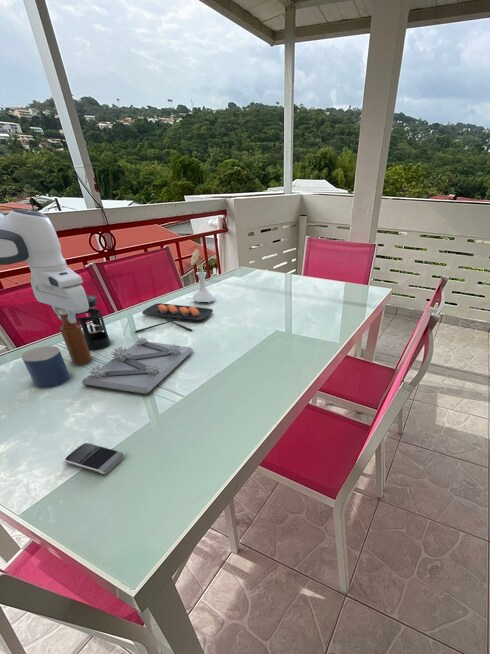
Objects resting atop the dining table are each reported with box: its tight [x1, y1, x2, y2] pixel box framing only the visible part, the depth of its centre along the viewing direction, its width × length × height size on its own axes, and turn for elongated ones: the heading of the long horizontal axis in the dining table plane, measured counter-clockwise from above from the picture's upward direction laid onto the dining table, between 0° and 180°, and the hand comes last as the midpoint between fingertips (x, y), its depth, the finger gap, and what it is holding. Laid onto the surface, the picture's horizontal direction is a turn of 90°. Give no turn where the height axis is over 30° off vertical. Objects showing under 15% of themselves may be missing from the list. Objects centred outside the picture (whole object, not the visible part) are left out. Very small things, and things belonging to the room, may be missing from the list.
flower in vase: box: [190, 248, 217, 304], centre depth 158 cm, size 13×11×25 cm
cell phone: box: [63, 442, 124, 475], centre depth 73 cm, size 6×11×1 cm, turn 73°
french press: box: [75, 279, 112, 351], centre depth 114 cm, size 12×9×23 cm
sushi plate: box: [135, 303, 214, 333], centre depth 141 cm, size 29×30×4 cm
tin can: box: [20, 345, 71, 389], centre depth 97 cm, size 9×9×9 cm
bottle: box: [58, 308, 93, 366], centre depth 105 cm, size 6×6×18 cm
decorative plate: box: [81, 337, 194, 395], centre depth 106 cm, size 30×22×7 cm
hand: (68, 321), depth 102 cm, fingers closed on bottle, 3 cm apart
